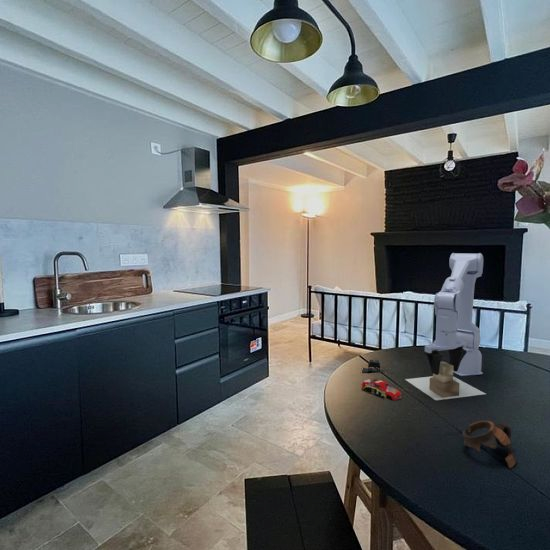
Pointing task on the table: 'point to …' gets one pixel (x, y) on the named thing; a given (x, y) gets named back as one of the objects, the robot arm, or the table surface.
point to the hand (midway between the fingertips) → (444, 372)
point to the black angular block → (373, 364)
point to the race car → (381, 389)
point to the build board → (463, 392)
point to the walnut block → (444, 388)
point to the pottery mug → (491, 438)
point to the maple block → (444, 373)
